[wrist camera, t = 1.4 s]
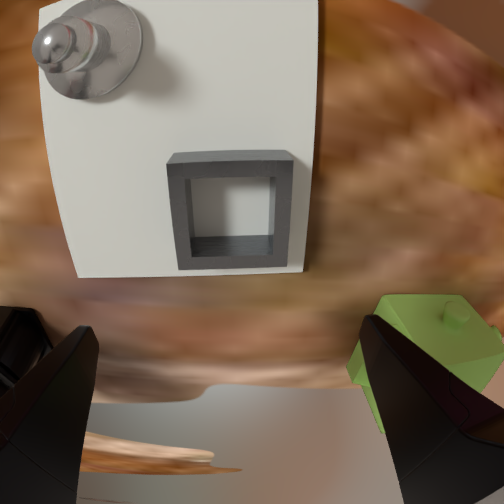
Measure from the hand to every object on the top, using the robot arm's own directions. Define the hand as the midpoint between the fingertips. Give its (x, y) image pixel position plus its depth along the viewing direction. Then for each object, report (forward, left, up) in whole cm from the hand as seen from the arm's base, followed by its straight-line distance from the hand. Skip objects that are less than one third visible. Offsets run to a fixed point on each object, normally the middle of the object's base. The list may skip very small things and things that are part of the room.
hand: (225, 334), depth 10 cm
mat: (+4, +3, -12) cm, 13 cm away
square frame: (0, 0, -12) cm, 12 cm away
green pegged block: (-13, -18, -12) cm, 26 cm away
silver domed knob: (+10, +8, -12) cm, 17 cm away
